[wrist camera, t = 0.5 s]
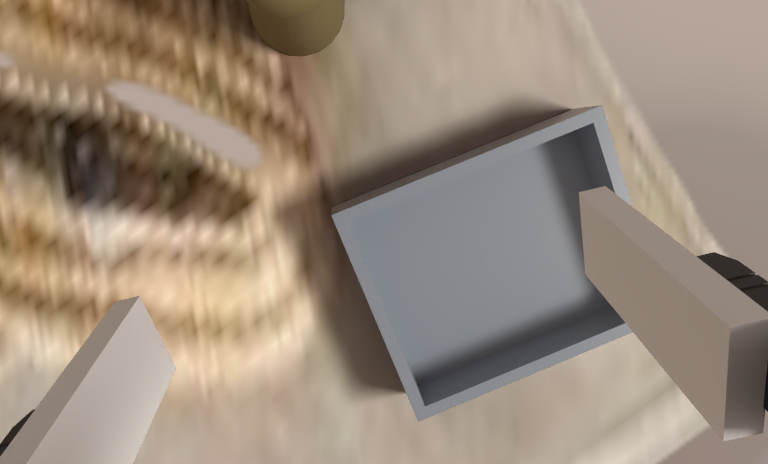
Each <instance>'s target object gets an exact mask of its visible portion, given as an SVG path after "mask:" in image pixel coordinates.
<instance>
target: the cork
mask: <svg viewBox="0 0 768 464" xmlns="http://www.w3.org/2000/svg"><path fill="white" fill-rule="evenodd" d="M246 1H247V2H248V7H249V14H250V17H251V20H252V23H253V26H254V28H255V30H256V31H257V33H258V34H259V35H260V37H261V38H262V40H263V41H264V42H266V43H267V44H268V45H269V46H271V47H272V48H273V49H275V50H276V51H279V52H282V53H284V54H287V55H290V56H307V55H310V54H313V53H317V52H319V51H321V50H322V49H324V48H325V47H326V46H328V45H329V44H330V43H331V42H332V41H333V40H334V38H335V37H336V35H337V34H338V33H339V31H340V28H341V25H342V22H343V19H344V0H246Z"/></svg>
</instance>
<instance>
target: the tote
mask: <svg viewBox="0 0 768 464" xmlns="http://www.w3.org/2000/svg"><path fill="white" fill-rule="evenodd" d="M603 186H606V187H607V188H608V189H610V190H611V191H612V192H614V193H615V194H616V195H618V196H619V197H620V198H621V199H623V200H624V201H625V202H627V203H628V204H629V205H630V206H632V204H631V201H630V198H629V194H628V191H627V188H626V184H625V181H624V178H623V174H622V171H621V168H620V164H619V161H618V158H617V154H616V151H615V148H614V144H613V141H612V138H611V134H610V131H609V128H608V124H607V121H606V118H605V115H604V111H603V108H602V105H600V106H592V107H584V108H576V109H571V110H569V111H566V112H564V113H562V114H559V115H557V116H554V117H552V118H549V119H547V120H544V121H542V122H539V123H537V124H534V125H532V126H530V127H527V128H525V129H522V130H520V131H517V132H515V133H512V134H510V135H507V136H505V137H502V138H500V139H498V140H495V141H493V142H490V143H488V144H485V145H483V146H480V147H478V148H475V149H473V150H470V151H468V152H466V153H463V154H461V155H458V156H456V157H453V158H451V159H448V160H446V161H443V162H441V163H439V164H436V165H434V166H431V167H429V168H426V169H424V170H421V171H419V172H416V173H414V174H411V175H409V176H407V177H404V178H402V179H399V180H397V181H394V182H392V183H389V184H387V185H384V186H382V187H379V188H377V189H375V190H372V191H370V192H367V193H365V194H362V195H360V196H357V197H355V198H352V199H350V200H347V201H345V202H343V203H340V204H338V205H335V206H333V207H331V216H332V218H333V221H334V223H335V226H336V228H337V230H338V233H339V235H340V237H341V240H342V242H343V245H344V247H345V249H346V252H347V254H348V256H349V259H350V261H351V264H352V266H353V268H354V271H355V273H356V275H357V278H358V280H359V282H360V285H361V287H362V290H363V292H364V294H365V297H366V299H367V301H368V304H369V306H370V309H371V311H372V313H373V316H374V318H375V320H376V323H377V325H378V328H379V330H380V332H381V335H382V337H383V339H384V342H385V344H386V346H387V349H388V351H389V354H390V356H391V358H392V361H393V363H394V365H395V368H396V370H397V373H398V375H399V377H400V380H401V382H402V384H403V387H404V389H405V392H406V394H407V396H408V399H409V401H410V403H411V406H412V408H413V410H414V413H415V415H416V418H417V420H418V422H419V421H421V420H423V419H426V418H428V417H431V416H433V415H435V414H438V413H440V412H443V411H445V410H447V409H450V408H452V407H454V406H457V405H459V404H462V403H464V402H466V401H469V400H471V399H474V398H476V397H478V396H481V395H483V394H486V393H488V392H490V391H493V390H495V389H498V388H500V387H502V386H505V385H507V384H510V383H512V382H514V381H517V380H519V379H522V378H524V377H526V376H529V375H531V374H534V373H536V372H538V371H541V370H543V369H546V368H548V367H550V366H553V365H555V364H557V363H560V362H562V361H565V360H567V359H569V358H572V357H574V356H577V355H579V354H581V353H584V352H586V351H589V350H591V349H593V348H596V347H598V346H601V345H603V344H605V343H608V342H610V341H613V340H615V339H617V338H620V337H622V336H625V335H627V334H629V333H632V332H633V331H632V330H631V329H630V328H629V327H628V325H627V324H626V323H625V322H624V320H623V319H622V318H621V317H620V316H619V314H618V313H617V312H616V311H615V310H614V308H613V307H612V306H611V305H610V304H609V302H608V301H607V300H606V299H605V297H604V296H603V295H602V294H601V293H600V291H599V290H598V289H597V288H596V287H595V285H594V284H593V283H592V282H591V281H590V279H589V278H588V277H587V276H586V274H585V265H584V252H583V240H582V227H581V215H580V202H579V192H582V191H586V190H591V189H595V188H599V187H603Z"/></svg>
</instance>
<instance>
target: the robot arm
mask: <svg viewBox="0 0 768 464" xmlns="http://www.w3.org/2000/svg"><path fill="white" fill-rule="evenodd" d="M579 202H580V215H581V227H582V240H583V252H584V265H585V274H586V276H587V277H588V278H589V279H590V281H591V282H592V283H593V284H594V285H595V287H596V288H597V289H598V290H599V291H600V293H601V294H602V295H603V296H604V297H605V299H606V300H607V301H608V302H609V304H610V305H611V306H612V307H613V308H614V310H615V311H616V312H617V313H618V314H619V316H620V317H621V318H622V319H623V320H624V322H625V323H626V324H627V325H628V327H629V328H630V329H631V330H632V331H633V333H634V334H635V335H636V336H637V337H638V339H639V340H640V341H641V342H642V343H643V345H644V346H645V347H646V348H647V349H648V351H649V352H650V353H651V354H652V356H653V357H654V358H655V359H656V360H657V362H658V363H659V364H660V365H661V366H662V368H663V369H664V370H665V371H666V372H667V374H668V375H669V376H670V377H671V379H672V380H673V381H674V382H675V383H676V385H677V386H678V387H679V388H680V389H681V391H682V392H683V393H684V394H685V395H686V397H687V398H688V399H689V400H690V402H691V403H692V404H693V405H694V406H695V408H696V409H697V410H698V411H699V412H700V414H701V415H702V416H703V417H704V418H705V420H706V421H707V422H708V423H709V425H710V426H711V427H712V428H713V429H714V431H715V432H716V433H717V434H718V435H719V437H720V438H721V439H722V440H723V441H727V440H731V439H737V438H741V437H746V436H751V435H755V434H760V433H763V426H764V417H765V409H766V410H767V411H768V282H767V281H766V280H765V279H763V278H762V277H760V276H759V275H755V273H754V272H753V271H752V270H750V269H749V268H747V267H746V266H744V265H743V264H742V263H740V262H739V261H737V260H734V259H732V258H729V257H726V256H723V255H720V254H717V253H715V252H714V253H709V254H705V255H700V256H695V255H694V254H693V253H691V252H690V251H689V250H687V249H686V248H685V247H683V246H682V245H681V244H680V243H678V242H677V241H676V240H674V239H673V238H672V237H671V236H669V235H668V234H667V233H665V232H664V231H663V230H662V229H660V228H659V227H658V226H656V225H655V224H654V223H652V222H651V221H650V220H649V219H647V218H646V217H645V216H643V215H642V214H641V213H640V212H638V211H637V210H636V209H634V208H633V207H632V206H630V205H629V204H628V203H627V202H625V201H624V200H623V199H621V198H620V197H619V196H618V195H616V194H615V193H614V192H612V191H611V190H610V189H608V188H607V187H606V186H603V187H599V188H595V189H591V190H586V191H582V192H579ZM175 369H176V367H175V365H174V363H173V361H172V359H171V357H170V355H169V353H168V351H167V349H166V347H165V345H164V343H163V341H162V339H161V337H160V335H159V333H158V331H157V329H156V327H155V325H154V323H153V321H152V319H151V317H150V315H149V313H148V311H147V309H146V307H145V305H144V303H143V301H142V300H141V298H140V296H137V297H133V298H129V299H125V300H120V301H116V302H114V304H113V305H112V307H111V308H110V309H109V311H108V312H107V313H106V315H105V316H104V317H103V319H102V320H101V321H100V323H99V324H98V325H97V327H96V328H95V329H94V331H93V332H92V333H91V335H90V336H89V338H88V339H87V340H86V342H85V343H84V344H83V346H82V347H81V348H80V350H79V351H78V352H77V354H76V355H75V356H74V358H73V359H72V360H71V362H70V363H69V365H68V366H67V367H66V369H65V370H64V371H63V373H62V374H61V375H60V377H59V378H58V379H57V381H56V382H55V383H54V385H53V386H52V387H51V389H50V390H49V392H48V393H47V394H46V396H45V397H44V398H43V400H42V401H41V402H40V404H39V405H38V406H37V408H36V409H35V410H32V411H31V412H30V413H29V414H28V415H26V416H25V417H24V418H23V419H22V420H21V421H20V422H19V423H17V424H16V425H15V426H14V427H13V428H12V429H11V431H10V432H9V433H8V435H7V436H6V437H5V438H4V440H3V441H2V442H1V444H0V464H133V462H134V460H135V458H136V456H137V453H138V451H139V449H140V447H141V445H142V442H143V440H144V438H145V436H146V434H147V431H148V429H149V427H150V425H151V422H152V420H153V418H154V416H155V414H156V411H157V409H158V407H159V405H160V403H161V400H162V398H163V396H164V394H165V391H166V389H167V387H168V385H169V383H170V380H171V378H172V376H173V374H174V372H175Z"/></svg>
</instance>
